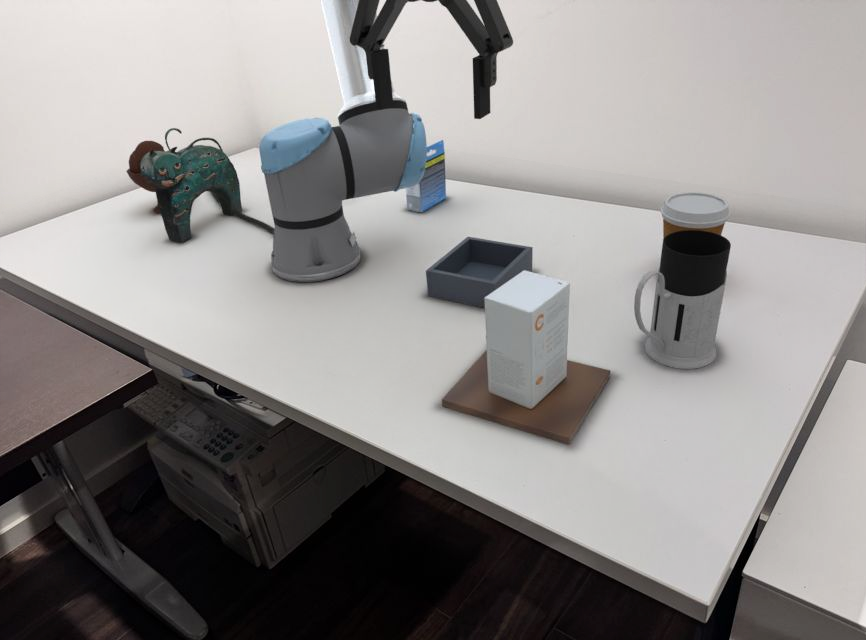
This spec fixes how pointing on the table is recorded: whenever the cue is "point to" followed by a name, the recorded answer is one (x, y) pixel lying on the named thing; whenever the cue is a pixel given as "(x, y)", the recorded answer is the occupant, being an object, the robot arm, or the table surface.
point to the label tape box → (429, 181)
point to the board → (548, 418)
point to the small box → (527, 337)
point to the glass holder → (686, 299)
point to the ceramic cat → (190, 182)
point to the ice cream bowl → (135, 165)
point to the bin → (476, 270)
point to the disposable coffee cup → (694, 213)
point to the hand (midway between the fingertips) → (431, 111)
